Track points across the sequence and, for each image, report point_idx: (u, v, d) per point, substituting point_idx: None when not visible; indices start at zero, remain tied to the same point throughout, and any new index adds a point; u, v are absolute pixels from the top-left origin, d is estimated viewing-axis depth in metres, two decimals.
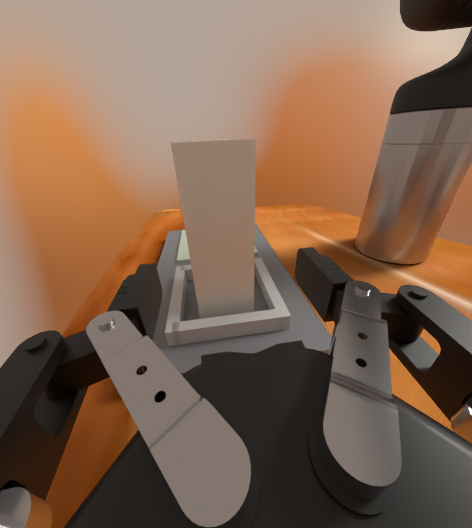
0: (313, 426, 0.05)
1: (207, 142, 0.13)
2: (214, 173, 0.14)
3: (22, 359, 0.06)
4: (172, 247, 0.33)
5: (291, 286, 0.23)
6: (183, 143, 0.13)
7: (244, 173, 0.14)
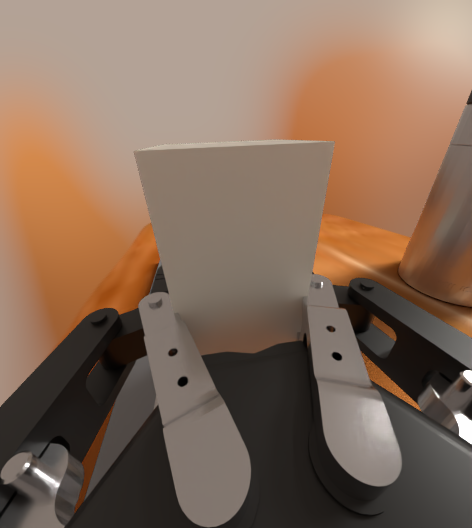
0: (310, 436, 0.04)
1: (223, 150, 0.05)
2: (236, 217, 0.06)
3: (86, 329, 0.07)
4: None
5: None
6: (165, 153, 0.05)
7: (300, 215, 0.06)
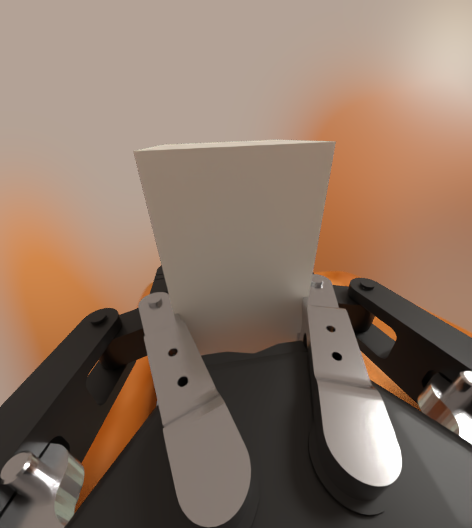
0: (310, 437, 0.04)
1: (223, 151, 0.05)
2: (236, 218, 0.06)
3: (86, 329, 0.07)
4: None
5: None
6: (165, 153, 0.05)
7: (300, 215, 0.06)
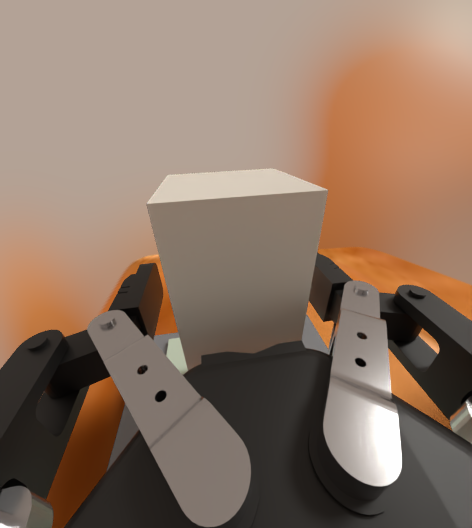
0: (313, 426, 0.05)
1: (227, 200, 0.06)
2: (238, 256, 0.07)
3: (24, 358, 0.06)
4: None
5: None
6: (174, 204, 0.06)
7: (297, 251, 0.07)
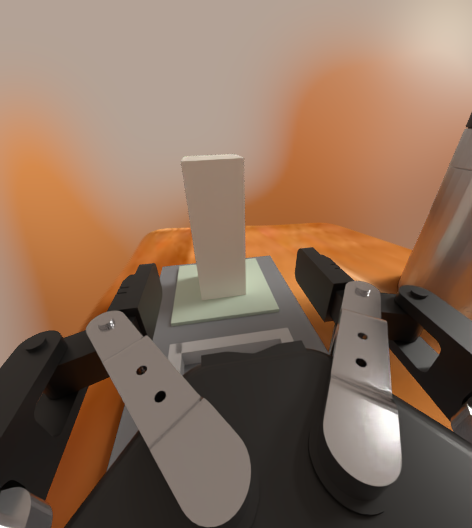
0: (313, 426, 0.05)
1: (207, 161, 0.17)
2: (213, 183, 0.18)
3: (22, 359, 0.06)
4: (166, 295, 0.26)
5: None
6: (190, 162, 0.17)
7: (236, 183, 0.18)
